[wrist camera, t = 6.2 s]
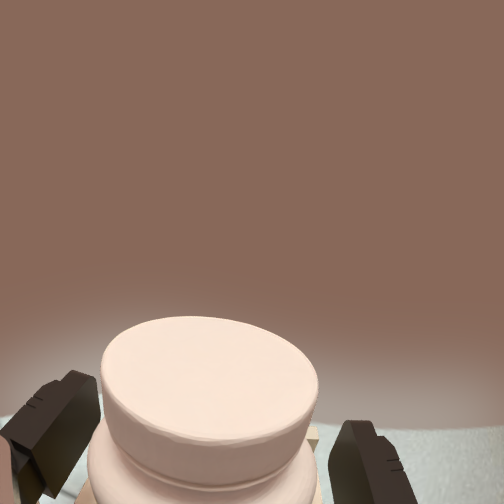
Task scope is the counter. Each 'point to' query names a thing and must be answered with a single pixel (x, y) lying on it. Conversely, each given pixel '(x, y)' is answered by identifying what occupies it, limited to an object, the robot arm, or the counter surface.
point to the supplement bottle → (203, 416)
